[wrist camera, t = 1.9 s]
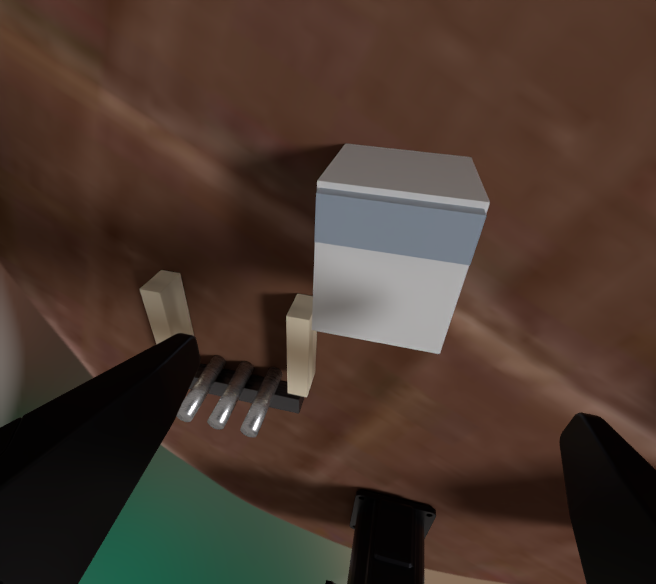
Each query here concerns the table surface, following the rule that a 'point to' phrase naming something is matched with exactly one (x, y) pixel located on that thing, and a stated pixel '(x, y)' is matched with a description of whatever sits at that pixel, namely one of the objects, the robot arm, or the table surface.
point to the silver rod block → (238, 394)
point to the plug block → (394, 244)
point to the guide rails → (173, 317)
